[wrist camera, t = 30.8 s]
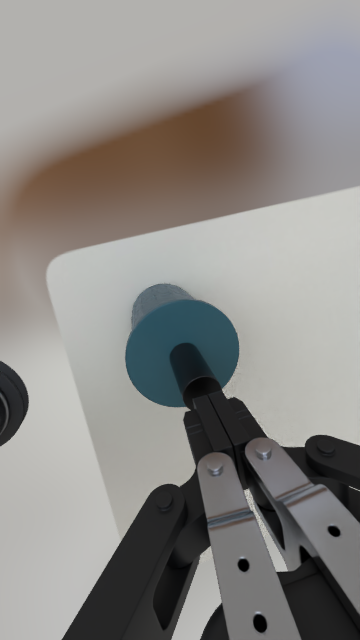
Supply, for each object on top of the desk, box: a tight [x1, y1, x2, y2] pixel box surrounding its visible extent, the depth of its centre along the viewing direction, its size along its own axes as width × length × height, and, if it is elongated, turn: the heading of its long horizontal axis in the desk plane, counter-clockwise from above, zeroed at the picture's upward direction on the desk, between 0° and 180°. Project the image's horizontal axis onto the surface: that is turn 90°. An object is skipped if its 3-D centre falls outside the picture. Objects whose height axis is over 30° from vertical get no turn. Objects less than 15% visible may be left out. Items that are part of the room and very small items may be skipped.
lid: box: [125, 298, 239, 410], centre depth 17 cm, size 8×8×6 cm
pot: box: [132, 284, 194, 329], centre depth 25 cm, size 7×7×12 cm
